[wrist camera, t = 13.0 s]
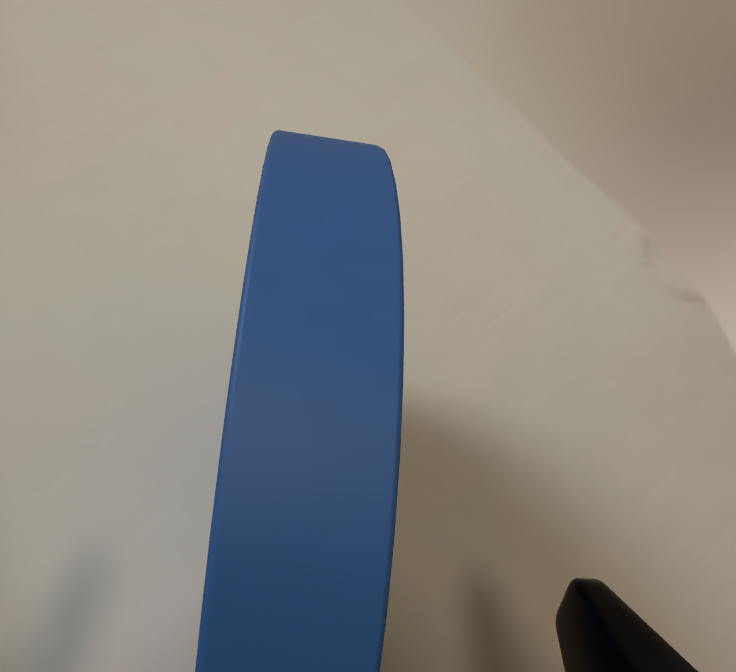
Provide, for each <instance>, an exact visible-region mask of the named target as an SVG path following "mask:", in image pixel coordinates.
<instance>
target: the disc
mask: <svg viewBox="0 0 736 672" xmlns="http://www.w3.org/2000/svg"><path fill="white" fill-rule="evenodd" d="M403 357H404V286H403V253H402V238H401V222H400V212H399V204H398V197H397V189H396V183H395V179H394V175H393V170H392V166H391V162H390V160H389V158H388V156H387V154H386V152H385V150H384V149H382V148H380V147H378V146H377V145H371V144H365V143H358V142H352V141H345V140H339V139H332V138H326V137H319V136H313V135H306V134H300V133H293V132H287V131H280V130H277V131H275V132H274V133H273V134H272V136H271V138H270V141H269V144H268V148H267V152H266V156H265V161H264V165H263V170H262V175H261V180H260V186H259V191H258V196H257V202H256V208H255V214H254V220H253V226H252V231H251V237H250V244H249V250H248V257H247V263H246V270H245V276H244V283H243V289H242V296H241V303H240V310H239V317H238V324H237V331H236V338H235V345H234V352H233V359H232V367H231V374H230V382H229V389H228V397H227V404H226V412H225V420H224V427H223V435H222V442H221V451H220V459H219V467H218V475H217V483H216V491H215V499H214V508H213V516H212V524H211V532H210V541H209V550H208V559H207V568H206V576H205V585H204V594H203V603H202V612H201V621H200V631H199V640H198V650H197V659H196V669H195V672H380V664H381V657H382V649H383V641H384V633H385V625H386V617H387V606H388V596H389V586H390V575H391V565H392V555H393V545H394V533H395V519H396V505H397V491H398V476H399V462H400V443H401V420H402V397H403Z"/></svg>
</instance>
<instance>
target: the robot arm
mask: <svg viewBox="0 0 736 672" xmlns="http://www.w3.org/2000/svg"><path fill="white" fill-rule="evenodd" d="M556 629H557V635H558V639H559V644H560V649H561V654H562V659H563V663H564V668H565V672H698V671H697V670H696V669H695V668H694V667H692V666H691V665H690V664H689V663H688V662H687V661H686V660H685V659H684V658H683V657H682V656H681V655H680V654H679V653H678V652H676V651H675V650H674V649H673V648H672V647H671V646H670V645H669V644H668V643H667V642H666V641H665V640H664V639H663V638H662V637H661V636H659V635H658V634H657V633H656V632H655V631H654V630H653V629H652V628H651V627H650V626H649V625H648V624H647V623H646V622H645V621H643V620H642V619H641V618H640V617H639V616H638V615H637V614H636V613H635V612H634V611H633V610H632V609H631V608H630V607H629V606H627V605H626V604H625V603H624V602H623V601H622V600H621V599H620V598H619V597H618V596H617V595H616V594H615V593H614V592H613V591H611V590H610V589H609V588H608V587H607V586H606V585H605V584H604V583H603V582H601V581H599V580H597V579H584V578H576V579H574V580H572V581H571V582H570V584H569V586H568V589H567V591H566V593H565V595H564V598H563V600H562V602H561V605H560V607H559V609H558V612H557V616H556Z"/></svg>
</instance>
